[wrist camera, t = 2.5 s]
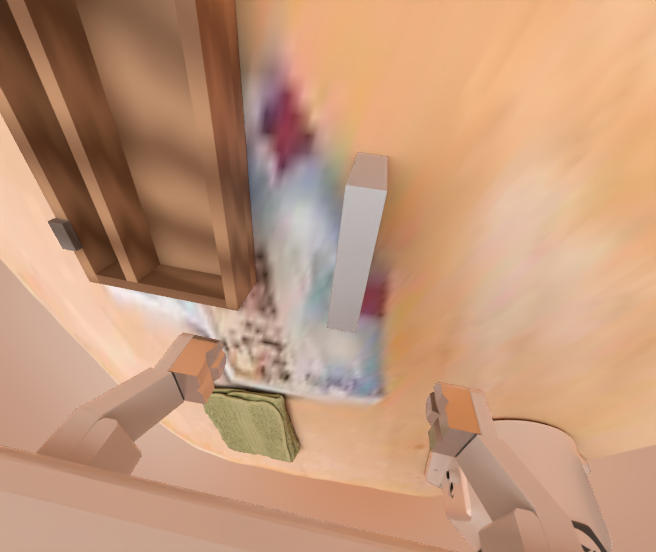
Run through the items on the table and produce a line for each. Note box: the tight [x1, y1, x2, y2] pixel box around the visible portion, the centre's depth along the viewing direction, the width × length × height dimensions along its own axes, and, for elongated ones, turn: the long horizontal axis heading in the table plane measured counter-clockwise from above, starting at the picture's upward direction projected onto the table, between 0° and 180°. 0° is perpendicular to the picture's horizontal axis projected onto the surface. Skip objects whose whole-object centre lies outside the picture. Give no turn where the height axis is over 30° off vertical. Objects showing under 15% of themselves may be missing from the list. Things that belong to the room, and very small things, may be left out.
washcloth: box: [203, 388, 300, 462], centre depth 43 cm, size 13×18×3 cm
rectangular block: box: [327, 152, 388, 333], centre depth 19 cm, size 10×2×7 cm, turn 175°
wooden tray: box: [0, 0, 256, 311], centre depth 20 cm, size 22×14×5 cm, turn 175°
